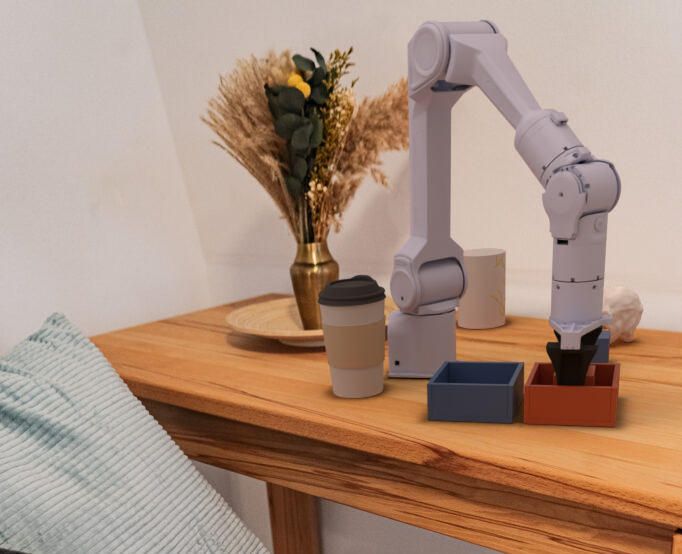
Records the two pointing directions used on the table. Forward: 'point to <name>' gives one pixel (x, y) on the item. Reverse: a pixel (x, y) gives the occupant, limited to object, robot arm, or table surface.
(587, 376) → the terracotta block
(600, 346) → the blue block
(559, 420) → the terracotta bin
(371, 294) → the coffee cup
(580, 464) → the table surface
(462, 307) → the cup
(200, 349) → the table surface
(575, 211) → the robot arm
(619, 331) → the white animal figurine
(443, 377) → the blue bin
